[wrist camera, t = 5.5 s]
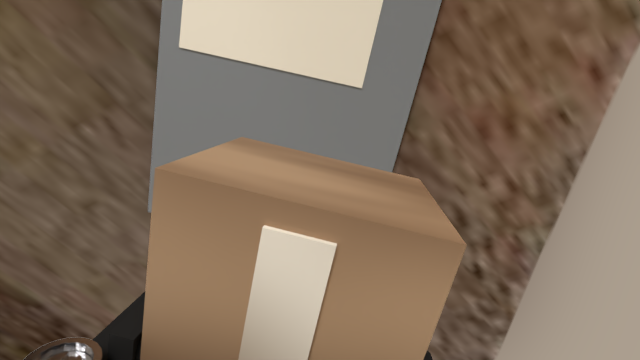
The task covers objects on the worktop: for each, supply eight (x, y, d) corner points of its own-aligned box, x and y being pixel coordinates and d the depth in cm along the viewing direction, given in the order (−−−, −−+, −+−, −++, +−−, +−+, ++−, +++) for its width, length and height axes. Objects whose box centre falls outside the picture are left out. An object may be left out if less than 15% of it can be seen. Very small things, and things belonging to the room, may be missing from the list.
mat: (364, 263, 26) (364, 267, 25) (152, 209, 27) (146, 212, 26) (465, -88, 19) (469, -94, 19) (177, -143, 20) (171, -151, 20)
